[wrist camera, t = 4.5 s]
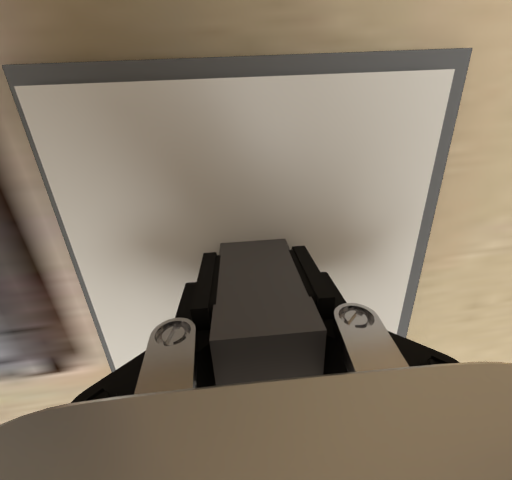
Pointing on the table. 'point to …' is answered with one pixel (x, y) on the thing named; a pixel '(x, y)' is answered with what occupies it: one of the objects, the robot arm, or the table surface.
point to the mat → (259, 68)
